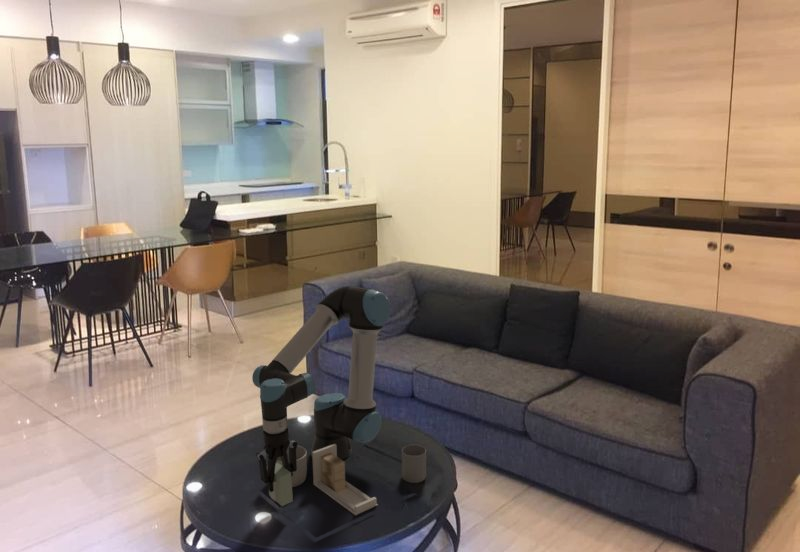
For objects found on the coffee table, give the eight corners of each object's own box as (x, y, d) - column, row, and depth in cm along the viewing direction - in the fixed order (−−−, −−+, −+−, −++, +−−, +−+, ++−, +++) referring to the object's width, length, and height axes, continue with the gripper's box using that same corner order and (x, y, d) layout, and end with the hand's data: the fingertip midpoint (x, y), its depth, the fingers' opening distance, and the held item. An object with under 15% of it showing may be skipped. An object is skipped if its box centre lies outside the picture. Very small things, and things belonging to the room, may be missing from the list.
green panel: (269, 495, 209) (266, 467, 207) (280, 490, 212) (277, 462, 209) (281, 506, 203) (279, 477, 201) (292, 501, 206) (290, 472, 203)
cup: (423, 483, 224) (423, 457, 222) (400, 481, 226) (399, 455, 224) (427, 471, 233) (427, 445, 230) (404, 469, 234) (404, 443, 232)
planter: (291, 495, 218) (290, 465, 215) (264, 485, 224) (262, 456, 222) (315, 479, 228) (314, 450, 226) (288, 469, 234) (287, 441, 232)
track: (313, 486, 223) (312, 451, 220) (335, 477, 229) (334, 443, 226) (355, 518, 205) (354, 480, 202) (378, 507, 211) (377, 470, 208)
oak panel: (322, 483, 223) (321, 456, 221) (331, 479, 226) (331, 452, 223) (335, 493, 217) (334, 465, 215) (345, 489, 220) (344, 461, 217)
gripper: (256, 442, 194) (262, 512, 199) (305, 424, 204) (310, 491, 210) (244, 433, 199) (250, 501, 205) (293, 416, 210) (297, 481, 215)
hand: (280, 496), depth 207 cm, fingers closed on green panel, 4 cm apart
